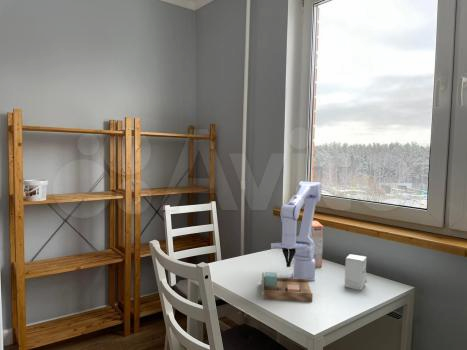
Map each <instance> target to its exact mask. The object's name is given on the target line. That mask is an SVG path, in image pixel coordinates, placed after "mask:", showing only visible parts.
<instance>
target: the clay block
mask: <svg viewBox="0 0 467 350" xmlns="http://www.w3.org/2000/svg"><path fill="white" fill-rule="evenodd" d="M287 292H300V289H299V285H287Z"/></svg>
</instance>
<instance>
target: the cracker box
mask: <svg viewBox="0 0 467 350" xmlns="http://www.w3.org/2000/svg"><path fill="white" fill-rule="evenodd" d="M310 238H311V239H312V240H313V242H314V243H315V248H314V249H315V252H314V256H313V258H312V259H315V268H322V265H323V248H324V247H323V246H324V244H323V243H324V225H322V224H321V223H320V222H319V221H318V220H313V222H312V227H311V233H310ZM308 245H310V244H308Z"/></svg>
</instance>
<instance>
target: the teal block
mask: <svg viewBox="0 0 467 350" xmlns="http://www.w3.org/2000/svg"><path fill="white" fill-rule="evenodd" d="M264 277H265V286H277V277H278V273H277V272H273V271H265V272H264Z"/></svg>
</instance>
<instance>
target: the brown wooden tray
mask: <svg viewBox="0 0 467 350" xmlns="http://www.w3.org/2000/svg"><path fill="white" fill-rule="evenodd" d="M287 285H299V289H300V292H287ZM260 289H261V290H260V291H261V292H260V299H263V300H277V301H280V300H281V301H293V302H294V301H295V302H296V301H297V302H307V303H308V302H311V303H312V302H313V294H314V293H313V292H312V291H311V287H310V283H309V280H308V279H297V278H293V277H278V276H277V286H265V272H261V285H260Z"/></svg>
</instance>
